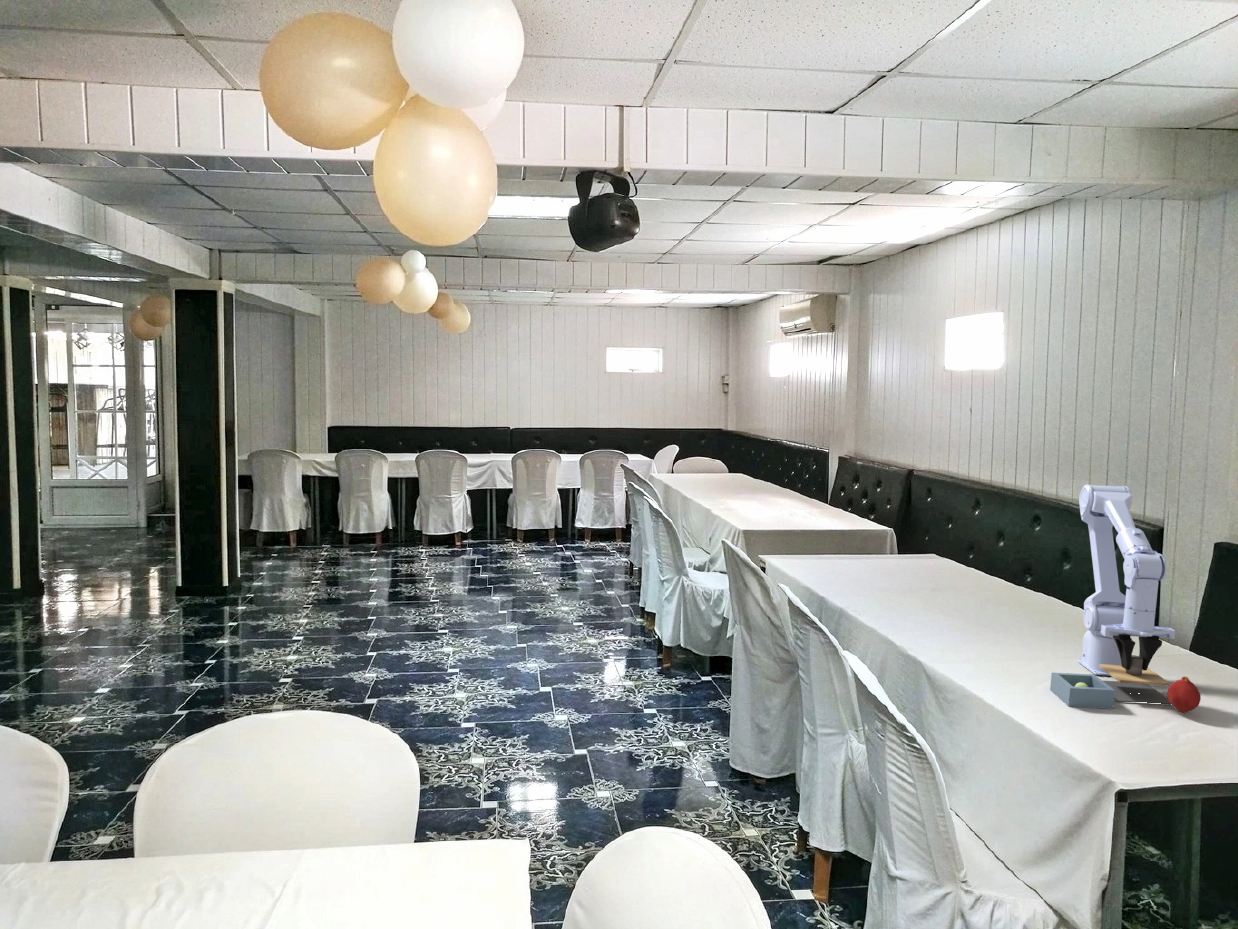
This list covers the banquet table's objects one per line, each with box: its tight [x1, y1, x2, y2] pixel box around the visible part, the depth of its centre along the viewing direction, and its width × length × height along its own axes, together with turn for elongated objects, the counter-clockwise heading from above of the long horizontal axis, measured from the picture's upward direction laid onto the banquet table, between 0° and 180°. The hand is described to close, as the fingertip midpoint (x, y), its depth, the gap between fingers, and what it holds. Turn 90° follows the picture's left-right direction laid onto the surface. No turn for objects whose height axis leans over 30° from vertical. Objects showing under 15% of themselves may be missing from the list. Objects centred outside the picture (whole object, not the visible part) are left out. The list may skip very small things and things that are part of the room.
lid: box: [1099, 654, 1171, 687], centre depth 186 cm, size 10×10×4 cm
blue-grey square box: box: [1049, 672, 1115, 709], centre depth 182 cm, size 9×9×4 cm
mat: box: [1101, 679, 1171, 704], centre depth 187 cm, size 12×12×1 cm
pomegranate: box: [1166, 675, 1201, 714], centre depth 176 cm, size 6×6×8 cm
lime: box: [1075, 682, 1088, 687], centre depth 182 cm, size 3×3×3 cm
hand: (1134, 668), depth 186 cm, fingers closed on lid, 3 cm apart
